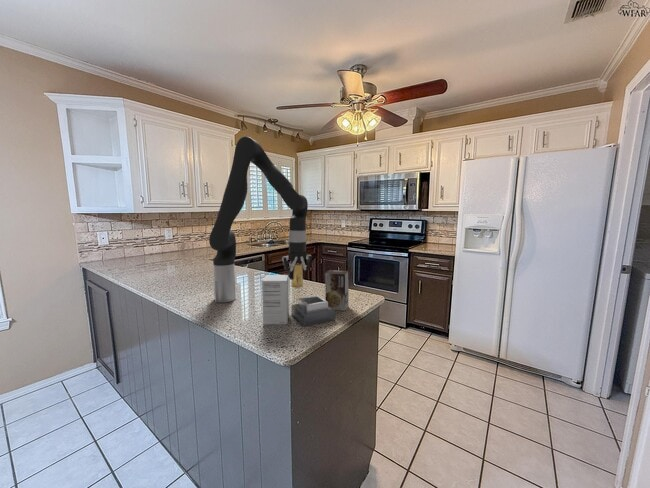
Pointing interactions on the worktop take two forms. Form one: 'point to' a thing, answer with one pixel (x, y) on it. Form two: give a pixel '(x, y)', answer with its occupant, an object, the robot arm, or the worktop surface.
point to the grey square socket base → (312, 311)
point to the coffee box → (337, 289)
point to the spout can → (297, 276)
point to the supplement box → (275, 299)
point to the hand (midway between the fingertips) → (297, 278)
